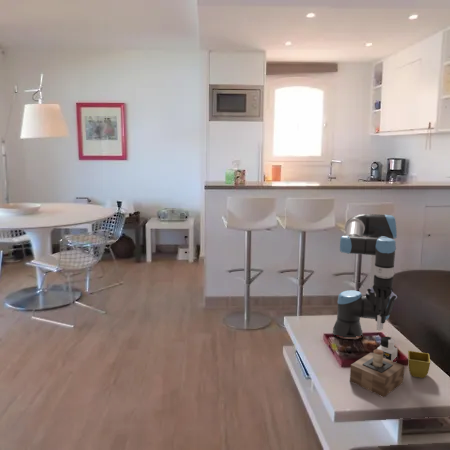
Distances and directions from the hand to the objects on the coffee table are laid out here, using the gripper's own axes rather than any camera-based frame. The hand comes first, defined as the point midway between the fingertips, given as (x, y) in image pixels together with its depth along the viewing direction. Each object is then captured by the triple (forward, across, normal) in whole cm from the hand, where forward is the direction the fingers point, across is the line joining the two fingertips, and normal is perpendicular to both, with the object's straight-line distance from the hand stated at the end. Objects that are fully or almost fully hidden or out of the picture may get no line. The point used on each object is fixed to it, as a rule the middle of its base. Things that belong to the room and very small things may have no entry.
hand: (379, 329), depth 192 cm
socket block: (+25, 0, 0) cm, 25 cm away
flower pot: (+25, +9, +19) cm, 33 cm away
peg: (+19, 0, 0) cm, 19 cm away
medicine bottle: (+25, -6, +19) cm, 32 cm away
